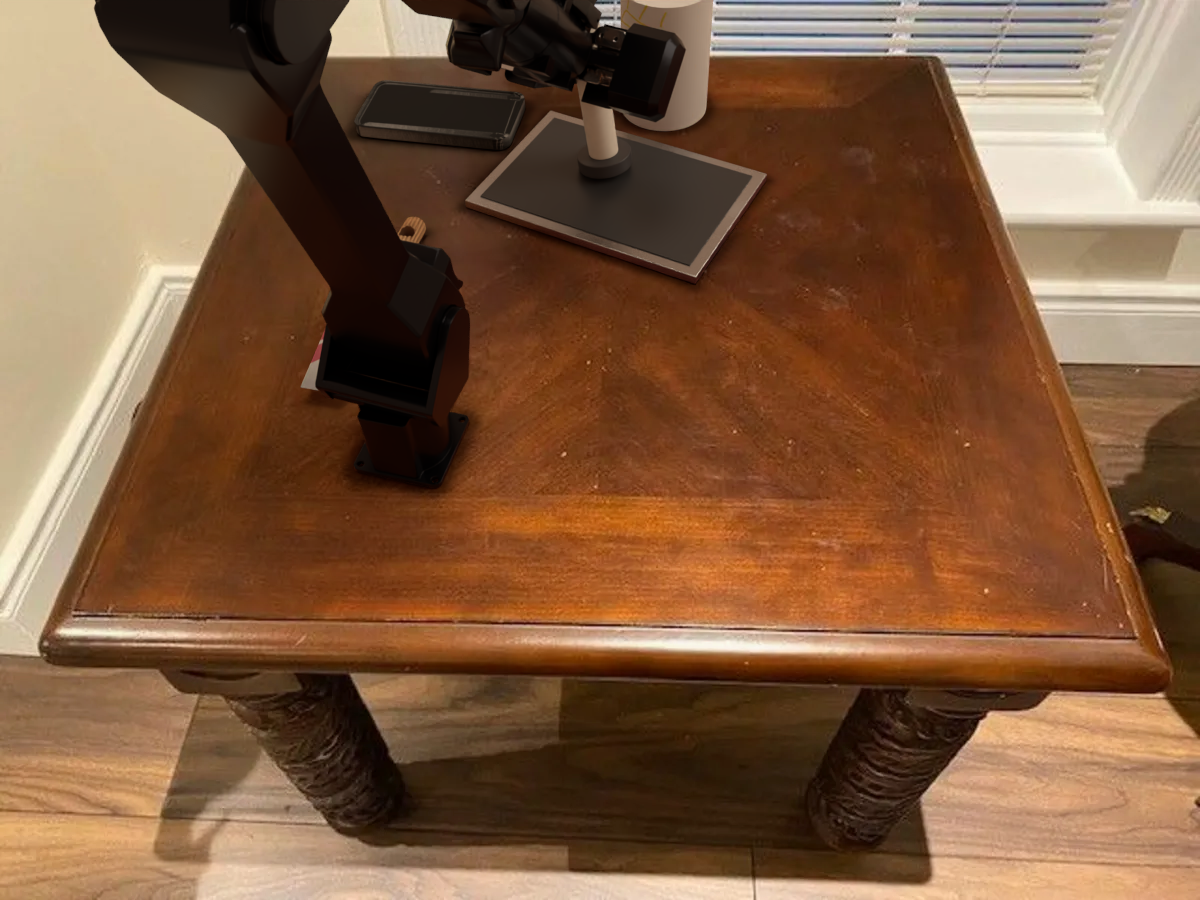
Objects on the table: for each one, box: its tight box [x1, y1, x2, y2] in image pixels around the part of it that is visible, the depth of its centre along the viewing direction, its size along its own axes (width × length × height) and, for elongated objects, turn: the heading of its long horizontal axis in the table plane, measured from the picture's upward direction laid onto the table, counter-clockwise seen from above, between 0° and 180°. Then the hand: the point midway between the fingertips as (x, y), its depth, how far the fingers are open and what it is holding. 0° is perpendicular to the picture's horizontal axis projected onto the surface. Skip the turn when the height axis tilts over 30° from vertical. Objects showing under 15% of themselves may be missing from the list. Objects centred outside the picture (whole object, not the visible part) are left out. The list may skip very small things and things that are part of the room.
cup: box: [619, 0, 714, 132], centre depth 94 cm, size 8×8×12 cm
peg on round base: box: [576, 21, 632, 179], centre depth 87 cm, size 5×5×14 cm
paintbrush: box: [300, 216, 427, 391], centre depth 81 cm, size 4×3×20 cm
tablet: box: [464, 110, 768, 285], centre depth 90 cm, size 22×15×1 cm
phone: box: [354, 79, 526, 151], centre depth 98 cm, size 8×1×15 cm
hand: (600, 80), depth 87 cm, fingers closed on peg on round base, 3 cm apart
